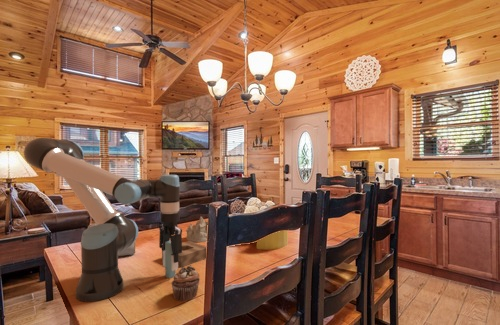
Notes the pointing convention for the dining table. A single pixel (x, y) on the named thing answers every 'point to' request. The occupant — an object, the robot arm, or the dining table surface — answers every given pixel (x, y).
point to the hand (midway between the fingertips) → (170, 267)
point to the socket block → (190, 253)
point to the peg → (168, 260)
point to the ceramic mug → (128, 251)
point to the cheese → (273, 241)
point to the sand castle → (197, 231)
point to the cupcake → (185, 284)
